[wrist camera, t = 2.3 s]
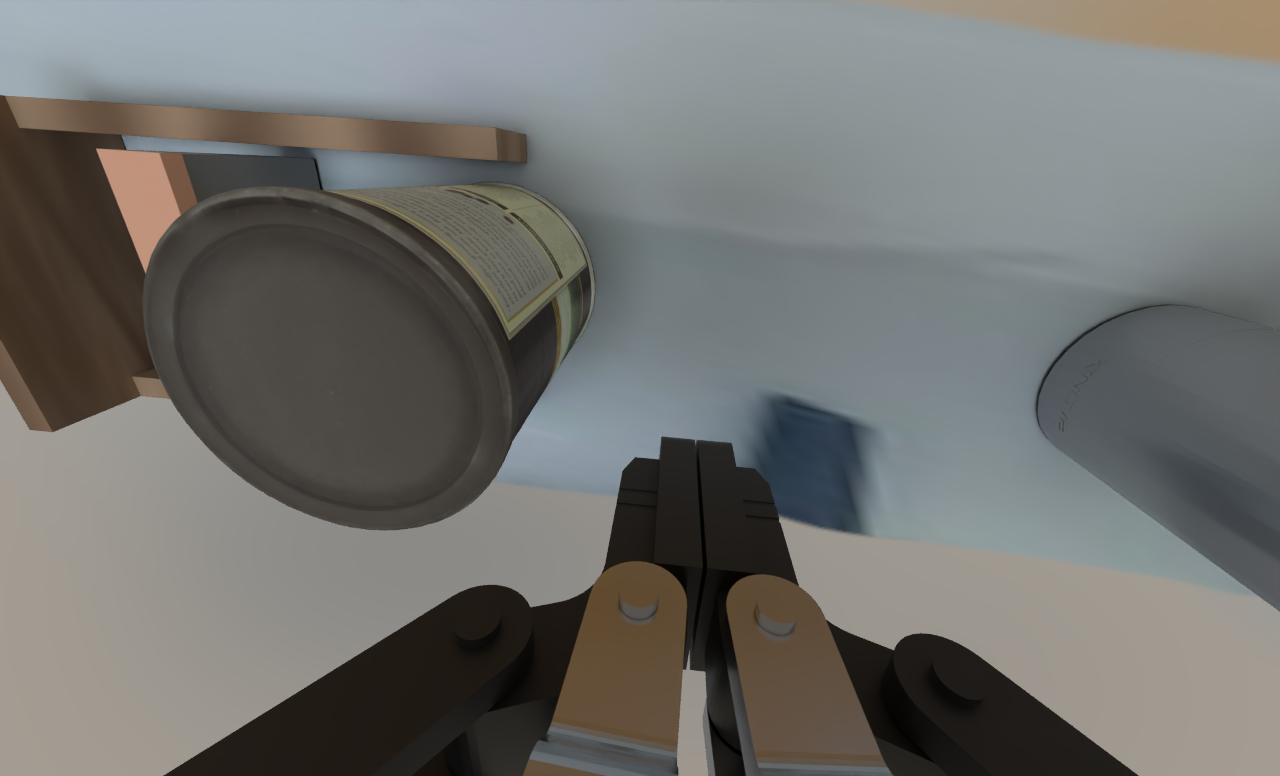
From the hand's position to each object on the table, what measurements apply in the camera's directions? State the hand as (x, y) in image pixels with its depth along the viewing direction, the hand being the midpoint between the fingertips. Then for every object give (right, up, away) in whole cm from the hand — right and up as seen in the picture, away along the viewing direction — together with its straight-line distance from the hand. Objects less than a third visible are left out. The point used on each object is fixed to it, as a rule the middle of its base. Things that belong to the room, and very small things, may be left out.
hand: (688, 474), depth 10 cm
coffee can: (-9, +8, +15) cm, 19 cm away
